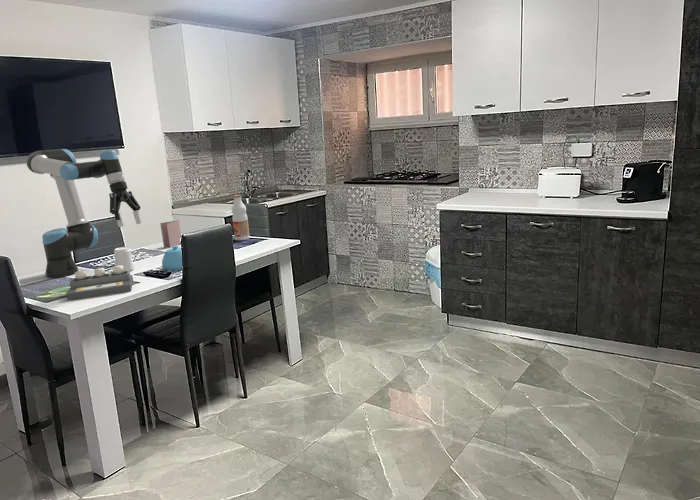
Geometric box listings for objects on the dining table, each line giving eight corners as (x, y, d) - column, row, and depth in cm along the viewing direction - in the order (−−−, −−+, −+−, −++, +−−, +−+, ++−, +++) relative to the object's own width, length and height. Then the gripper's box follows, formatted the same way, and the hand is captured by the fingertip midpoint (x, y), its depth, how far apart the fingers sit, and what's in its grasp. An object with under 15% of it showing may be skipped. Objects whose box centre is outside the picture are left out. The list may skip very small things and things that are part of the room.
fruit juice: (247, 240, 331) (242, 195, 324) (233, 241, 332) (227, 196, 325) (251, 237, 340) (246, 193, 333) (237, 237, 341) (232, 194, 334)
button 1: (76, 277, 243) (75, 271, 242) (87, 276, 244) (86, 269, 244) (75, 279, 239) (74, 273, 238) (85, 278, 240) (84, 272, 240)
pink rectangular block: (181, 243, 336) (178, 220, 332) (185, 245, 330) (181, 221, 326) (163, 246, 329) (159, 222, 326) (166, 248, 323) (163, 224, 320)
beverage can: (128, 272, 271) (124, 250, 268) (114, 273, 273) (110, 250, 270) (137, 268, 279) (133, 246, 276) (123, 268, 280) (119, 246, 278)
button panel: (74, 289, 247) (71, 277, 246) (133, 280, 255) (131, 268, 254) (67, 300, 231) (64, 287, 229) (131, 291, 238) (128, 278, 237)
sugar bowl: (198, 265, 276) (195, 244, 273) (172, 273, 265) (169, 250, 262) (183, 262, 285) (180, 241, 283) (157, 269, 275) (154, 247, 272)
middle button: (95, 274, 245) (94, 268, 245) (106, 273, 247) (104, 267, 246) (94, 277, 241) (93, 270, 241) (105, 275, 243) (103, 269, 242)
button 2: (114, 272, 248) (113, 266, 247) (124, 270, 249) (123, 264, 248) (113, 274, 244) (112, 268, 243) (123, 273, 245) (122, 266, 244)
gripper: (106, 181, 241) (120, 225, 243) (139, 179, 265) (152, 220, 267) (92, 185, 243) (107, 229, 245) (127, 183, 267) (140, 224, 269)
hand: (130, 225), depth 256 cm, fingers open, 13 cm apart
